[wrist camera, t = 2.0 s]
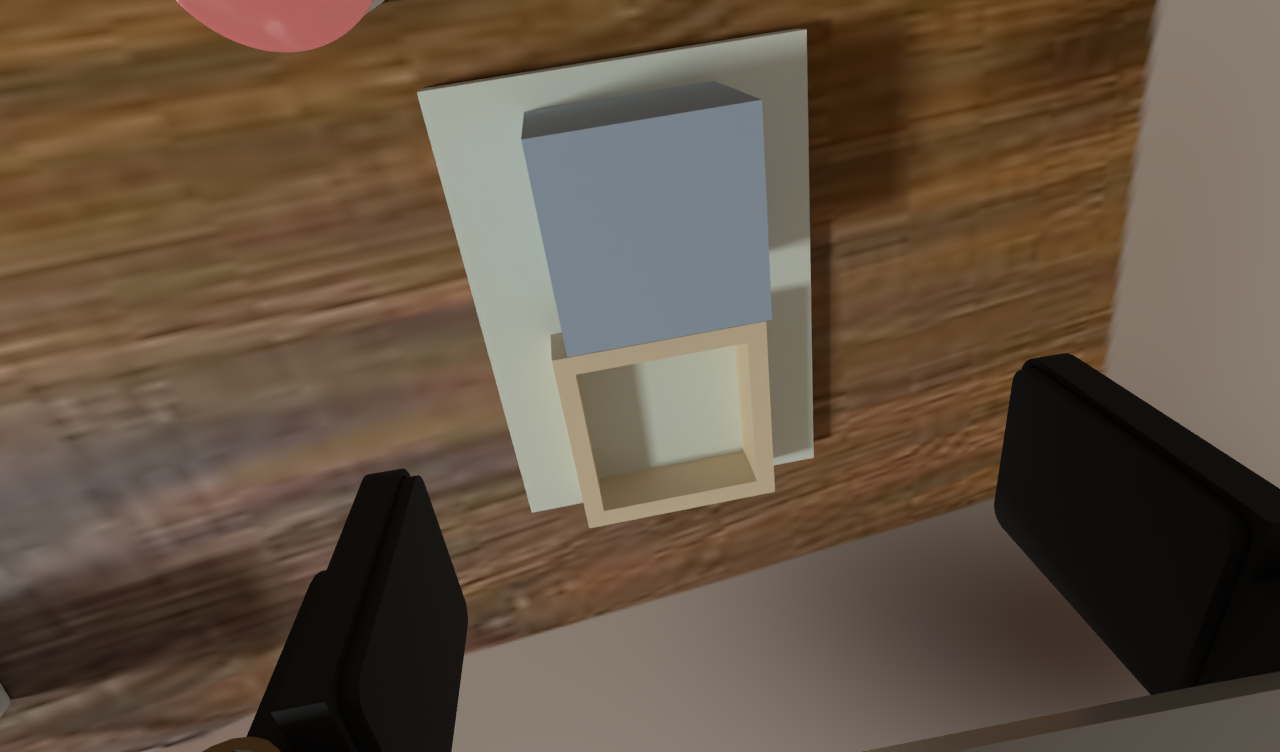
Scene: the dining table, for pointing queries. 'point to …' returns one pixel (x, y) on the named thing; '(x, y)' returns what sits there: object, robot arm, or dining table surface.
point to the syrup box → (3, 700)
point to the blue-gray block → (652, 213)
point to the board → (650, 372)
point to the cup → (280, 21)
